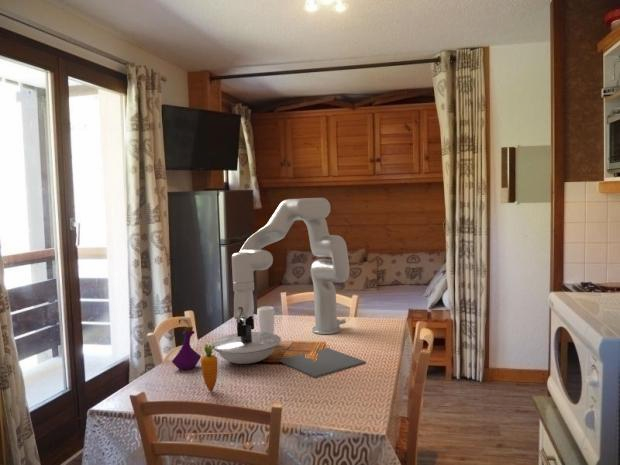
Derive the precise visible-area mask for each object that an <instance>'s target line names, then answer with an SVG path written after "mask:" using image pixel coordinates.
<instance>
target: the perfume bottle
mask: <svg viewBox="0 0 620 465" xmlns="http://www.w3.org/2000/svg"><path fill="white" fill-rule="evenodd" d="M181 321H184V323H186V324H187V326H185V327H184V331H183V332H182V335H184V341H183V343H182V346H181V348H180V349H179V351H178V352H177V353H176V356H175V357H174V358H173V359H172V360H171V363H172V364H173V365H174V366H176V368H177V369H178V370H183V371H190V370H192V369H194V368H195V367H196V366H197V365H198V363H199V361H200V360H201V358H202V356H201V355H200V354H199V353H198V352H196V351H195V350H194V349H193V347H191V344H190V343H191V337H192V336H193V335H194V334H195V331H194V330H193V329H194V327H193V326H190V325H189V320H188V318H187V317H182V318H180V319H178V324H181Z"/></svg>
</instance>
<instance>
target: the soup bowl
mask: <svg viewBox="0 0 620 465" xmlns="http://www.w3.org/2000/svg"><path fill="white" fill-rule="evenodd" d="M275 348H276V347H274V348H271V349H268V350H265V351H260V352H254V353H244V354H230V353H222V352H218V351H216V352H217V353H218V354H219V355H220V357H221V358H222V359H224V360H226V362H229V363H233V364H238V365H245V364H254V363H259V362H261V361H263V360H265V359H267V357H269V356H270V355H271V354H272V353H273V351H274V349H275Z"/></svg>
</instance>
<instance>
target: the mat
mask: <svg viewBox="0 0 620 465" xmlns="http://www.w3.org/2000/svg"><path fill="white" fill-rule="evenodd" d="M316 351H317V352H318V356H317V360H316V361H315V362H312V361H313V360H312V359H310V358H309V359H308V358H305V354H306V353H307V352H306V353H302V354H299V355H295V356H291V357H286V358H283V359H279V360H278V362H279V361H280V362H282V363H281V364H283V365H285V366H287V367H290V368H291V369H294V370H297V372H301V373H303V374H305V375H307V376H310V377H312V378H314V379H315V378H316V379H317V378H319V377H323V376H326V375H330V374H333V373H336V372H341V371H343V370H346V369H350V368H354V367H357V366H360V365H363V364H366V360H363V359H360V358H358V357H355V356H351V355H348V354H347V353H343V352H340V351H337V350H335V349H332V348H328V347H326V348H322V349H318V350H316ZM306 357H307V356H306ZM280 362H279V363H280Z"/></svg>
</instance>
